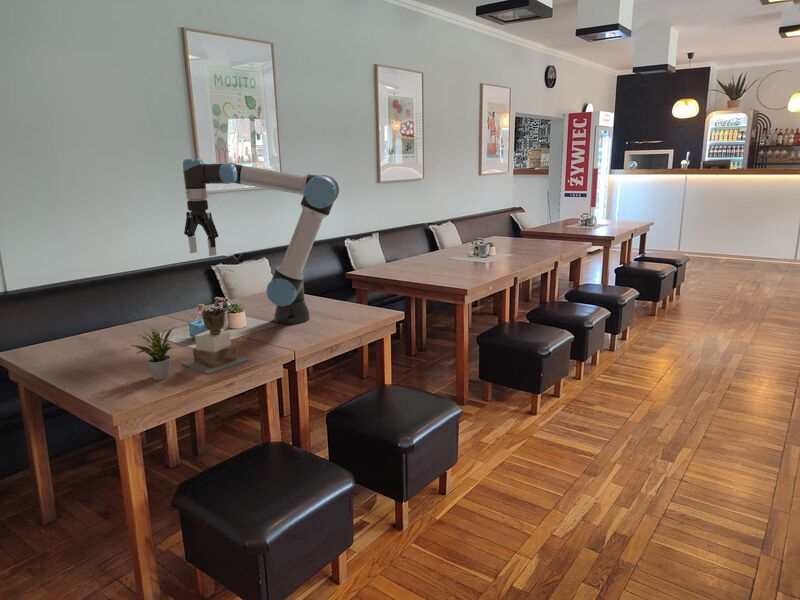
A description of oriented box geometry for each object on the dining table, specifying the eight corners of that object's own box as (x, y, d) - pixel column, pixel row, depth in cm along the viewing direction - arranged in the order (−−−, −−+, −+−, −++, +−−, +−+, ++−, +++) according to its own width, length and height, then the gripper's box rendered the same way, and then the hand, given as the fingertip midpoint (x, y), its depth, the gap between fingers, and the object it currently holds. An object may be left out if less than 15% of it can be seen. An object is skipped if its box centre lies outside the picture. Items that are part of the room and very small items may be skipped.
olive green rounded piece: (206, 338, 186) (203, 315, 184) (202, 333, 192) (199, 310, 190) (229, 335, 189) (226, 312, 187) (224, 329, 195) (222, 307, 193)
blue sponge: (185, 337, 224) (183, 318, 222) (199, 333, 228) (197, 315, 226) (202, 342, 216) (200, 323, 214) (216, 338, 221) (214, 320, 219)
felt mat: (222, 351, 205) (222, 350, 205) (249, 360, 195) (249, 359, 195) (181, 364, 193) (181, 363, 193) (208, 374, 183) (208, 373, 183)
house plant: (163, 365, 193) (157, 319, 189) (195, 370, 187) (189, 323, 183) (129, 380, 180) (122, 331, 176) (162, 386, 175) (155, 335, 171)
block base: (219, 354, 201) (218, 340, 199) (236, 359, 194) (235, 346, 193) (194, 362, 193) (192, 348, 192) (211, 368, 187) (209, 354, 186)
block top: (213, 342, 198) (211, 328, 196) (231, 345, 194) (229, 331, 193) (196, 349, 191) (194, 335, 189) (215, 352, 187) (213, 337, 186)
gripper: (171, 199, 223) (177, 252, 228) (206, 201, 208) (212, 258, 213) (188, 198, 229) (194, 250, 234) (224, 200, 213) (229, 255, 219)
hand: (203, 254), depth 223 cm, fingers open, 13 cm apart
